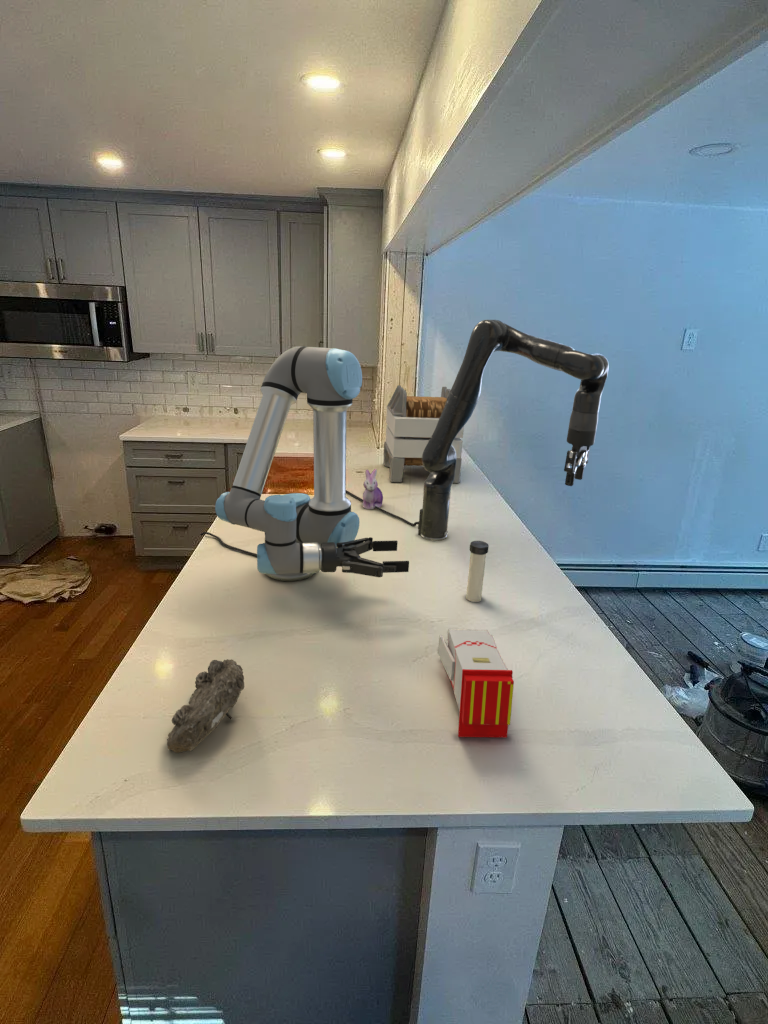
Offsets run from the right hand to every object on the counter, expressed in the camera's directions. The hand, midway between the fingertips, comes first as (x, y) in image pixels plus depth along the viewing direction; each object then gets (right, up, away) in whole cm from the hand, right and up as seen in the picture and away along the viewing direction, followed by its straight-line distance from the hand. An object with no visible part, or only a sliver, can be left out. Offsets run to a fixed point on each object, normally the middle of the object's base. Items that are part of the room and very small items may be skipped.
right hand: (573, 482), depth 165 cm
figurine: (-60, -6, +61) cm, 86 cm away
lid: (-30, -18, -14) cm, 37 cm away
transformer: (-38, +10, +110) cm, 116 cm away
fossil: (-88, -48, -57) cm, 115 cm away
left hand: (-51, -20, -19) cm, 58 cm away
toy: (-38, -46, -47) cm, 76 cm away
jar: (-31, -33, -8) cm, 45 cm away
